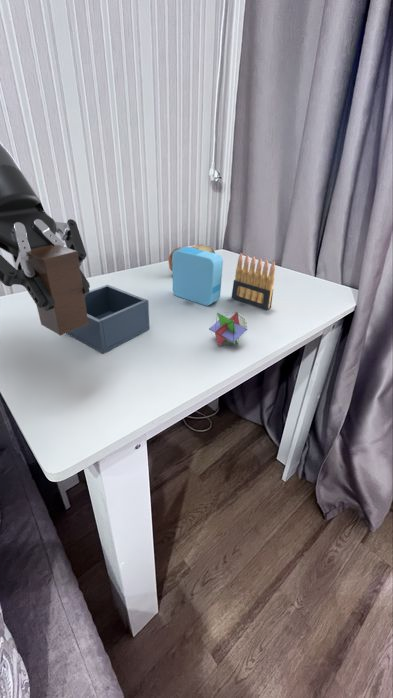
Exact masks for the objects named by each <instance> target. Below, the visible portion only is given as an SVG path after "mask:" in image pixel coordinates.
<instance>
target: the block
mask: <svg viewBox="0 0 393 698" xmlns="http://www.w3.org/2000/svg"><path fill="white" fill-rule="evenodd" d="M26 253H27V255H28V258H29V261H30V263H31V264H32V266H33V268H34V270H35V276H36V277H38V276H39V278H40V279H41V281H42V282H43V284H44V285H45V287H46V288H47V290H48V292H49V293H50V295H51V296H52V297H53V299H54V301H55V305H54V306H53V308H52V309H50V310H47V311H45V310H44V308H43V307H42V308H40V307H39V306H37V305H36V309H37V313H38V316H39V321H40V325H41V326H43V327H45V328H46V329H48V330H50V331H52V332H53V333H55V334H57V335H59V336H62V335H65V334H66V333H67V332H70V331H72V330H74V329H77V328H79V327H81V326H84V325H86V324H88V317H87V311H86V305H85V298H84V292H83V285H82V279H81V272H80V270H81V265H80V266H79V259H78V253H77V251H75V250H72V249H69V248H67V246H66V247H64V246H61V245H56V246H55V245H49V246H44V247H40V248H35V249H31V251H29V252H26Z"/></svg>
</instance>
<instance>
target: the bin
mask: <svg viewBox="0 0 393 698" xmlns="http://www.w3.org/2000/svg"><path fill="white" fill-rule="evenodd" d="M84 298H85V305H86V311H87V317H88V324H86V325H84V326H81V327H79V328H77V329H74V330H72V331H70V332H67V333H65V334H66V335H68V336H70V337H72V338H74V339H75V340H77V341H79V342H80V343H82V344H85V345H86V346H88V347H89V348H92V349H94V350H95V351H96V352H99V353H101V354H105V353H107V352H110V351H111V350H113V349H116V348H117V347H119V346H120V345H123V344H124V343H126V342H129V341H130V340H132V339H134V338H135V337H138V336H140V335H142V334H144V333H146V332H147V331H149V330H150V310H149V309H150V308H149V300H148V299H146V298H143V297H141V296H138V295H135V294H133V293H130V292H128V291H126V290H124V289H123V290H122V289H120V288H118V287H116V286H112V285H110V284H105V285H101V286H99V287H96V288H94V289H91V290H89V293H88V294H87V296H86V297H84Z"/></svg>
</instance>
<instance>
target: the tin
mask: <svg viewBox="0 0 393 698" xmlns="http://www.w3.org/2000/svg"><path fill="white" fill-rule="evenodd" d="M184 247H185V246H180V247H177V248H175V249H174V250H172V251H171V252H170V254H169V257H168V268H169V270H170V271H171V273H173V253H174V251H176V250H179V249H181V248H184ZM186 247H191V248H195V249H199V250H203V251H208V252H212V253H216V252H215V250H214V249H213V247H211V246H209V245H206V244H195V245H187V246H186Z"/></svg>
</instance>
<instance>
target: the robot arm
mask: <svg viewBox="0 0 393 698" xmlns="http://www.w3.org/2000/svg"><path fill="white" fill-rule="evenodd" d="M56 233H57V234H58V235H59V236H60V238H59V237H58V236H57V235H56ZM63 241H64V242H65V243H64V242H63ZM49 245H55V246H56V245H61V246H64V247H66V248H69V249H72V250H75V251H77V253H78V259H79V266H80V267H81V265H82V263H83V262H84V261H85V259H86V257H87V256H88V255H87V252H86V248H85V246H84V242H83V239H82V237H81V233H80V230H79V227H78V224H77V222H76V221H75V220H74V219H72V218H70V219H68V220H67V222H59V221H55V219H54V218H52V217H51V216H50V215H49V214H48V213H47V212H46V211H45V209H44V207H43V204H42V201H41V200H40V198H39V196H38V195H37V192H36V191H35V190H34V188H33V186H32V185H31V184H30V182H29V180H28V178H27V177H26V176H25V174H24V173H23V171H22V169H21V168H20V166H19V165H18V163H17V162H16V160H15V159H14V157H13V156H12V154H11V153H10V152H9V151H8V149H7V148H6V147H5V145H4V144H3V142H1V141H0V249H1V250H3V251H5V252H6V253H8V254H10V255H11V258H12V262H13V265H12V264H11V263H10V262H9V261H8V260H7V259H6V258H5V257H4V256H3V255H2V254H0V282H1V283H2V284H3V285H4V286H5V287H12V286H14V285H18V286H23V287H24V288H25V289H26V291H27V292H28V294H29V296H30V297H31V298H32V300H33V302H34V304H35V305H36V307H37V306H39V307H40V308H42V307H43V308H44V310H45V311H47V310H50V309H52V308H53V306H54V305H55V301H54V299H53V297H52V296H51V295H50V293H49V292H48V290H47V288H46V287H45V285H44V284H43V282H42V281H41V279H40V278H39V276H38V277H36V276H35V270H34V268H33V266H32V264H31V263H30V261H29V258H28V255H27V253H26V252H29V251H31V249H35V248H40V247H44V246H49ZM80 272H81V279H82V285H83V292H84V297H86V296H87V294H88V293H89V291H90V288H91V287H90V286H91V285H90V282H89V281H88V279H87V278H86V276H85V274H84V273H83V271H82V270H81V269H80Z"/></svg>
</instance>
